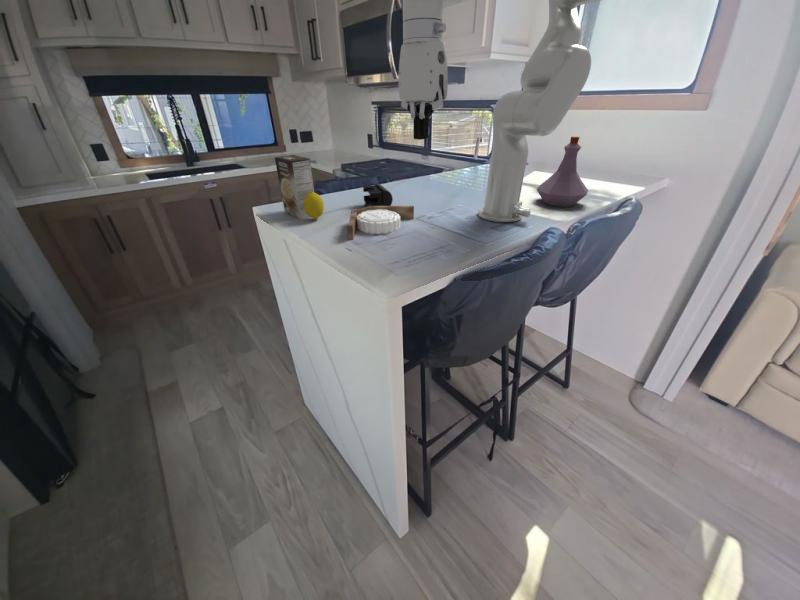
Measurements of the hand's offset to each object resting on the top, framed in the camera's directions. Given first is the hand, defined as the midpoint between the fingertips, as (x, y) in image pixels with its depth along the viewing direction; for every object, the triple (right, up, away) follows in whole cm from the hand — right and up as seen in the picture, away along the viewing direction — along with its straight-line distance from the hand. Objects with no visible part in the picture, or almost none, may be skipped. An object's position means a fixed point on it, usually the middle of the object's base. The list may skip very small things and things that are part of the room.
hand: (420, 138), depth 73 cm
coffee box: (-35, -10, +27) cm, 45 cm away
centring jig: (-12, -15, +18) cm, 27 cm away
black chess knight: (-12, -7, +33) cm, 35 cm away
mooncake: (-11, -16, +17) cm, 26 cm away
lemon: (-29, -13, +22) cm, 39 cm away
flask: (+49, -4, +37) cm, 61 cm away
